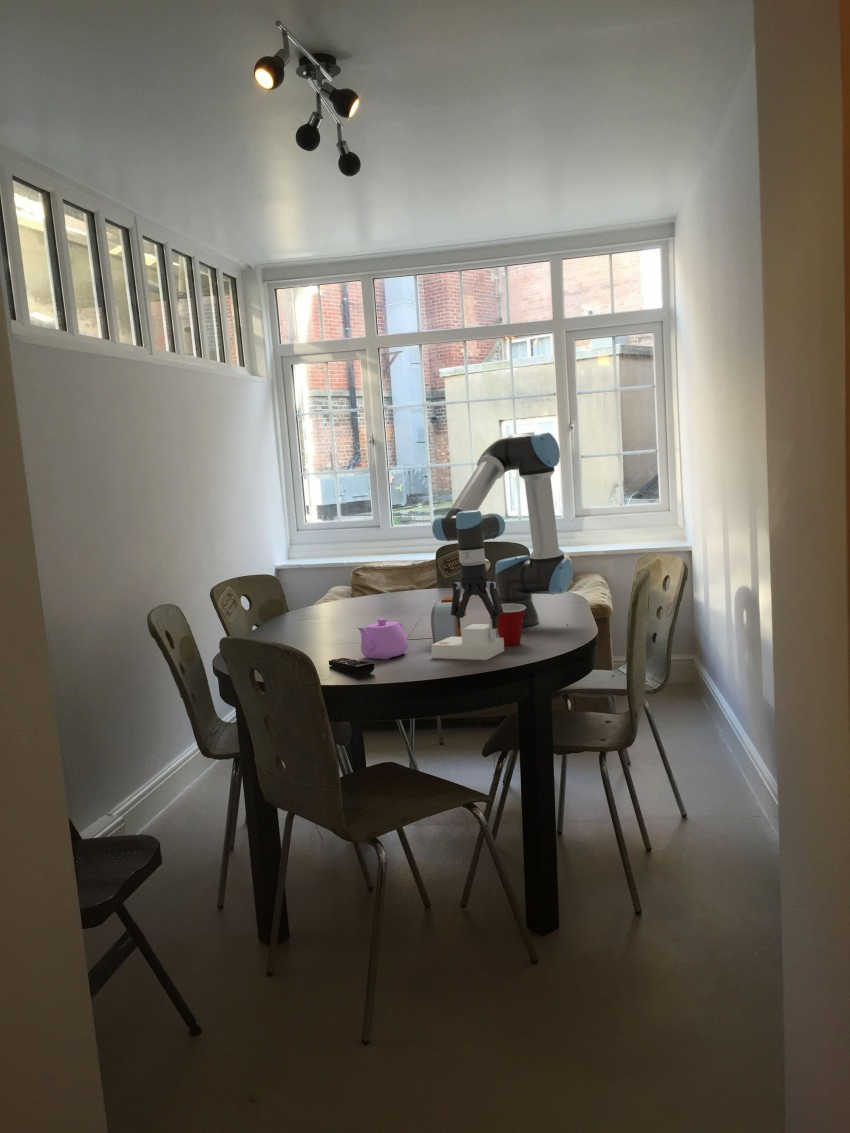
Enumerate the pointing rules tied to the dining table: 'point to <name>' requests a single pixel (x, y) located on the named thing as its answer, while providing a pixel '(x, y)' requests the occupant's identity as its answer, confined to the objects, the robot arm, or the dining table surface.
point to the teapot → (383, 640)
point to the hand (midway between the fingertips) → (479, 639)
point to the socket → (466, 649)
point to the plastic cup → (511, 623)
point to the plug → (476, 634)
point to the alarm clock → (444, 620)
